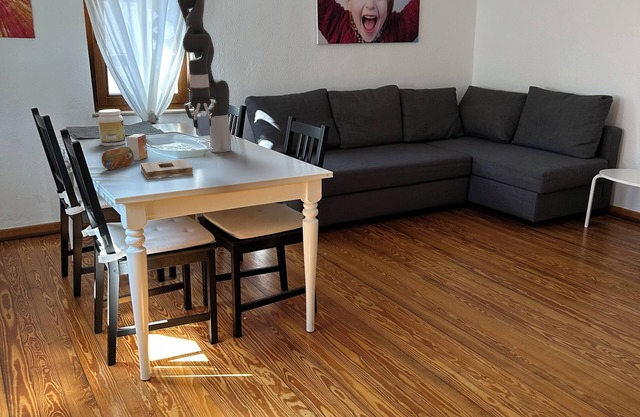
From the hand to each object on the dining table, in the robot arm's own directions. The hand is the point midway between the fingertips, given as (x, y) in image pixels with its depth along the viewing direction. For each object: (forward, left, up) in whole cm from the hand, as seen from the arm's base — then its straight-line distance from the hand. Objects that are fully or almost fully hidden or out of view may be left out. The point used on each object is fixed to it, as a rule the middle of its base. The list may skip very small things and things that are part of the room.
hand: (202, 127), depth 242 cm
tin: (+33, -18, -18) cm, 41 cm away
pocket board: (+16, 0, -17) cm, 23 cm away
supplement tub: (+30, -71, -17) cm, 79 cm away
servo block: (0, 0, -3) cm, 3 cm away
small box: (+23, -32, -18) cm, 43 cm away
